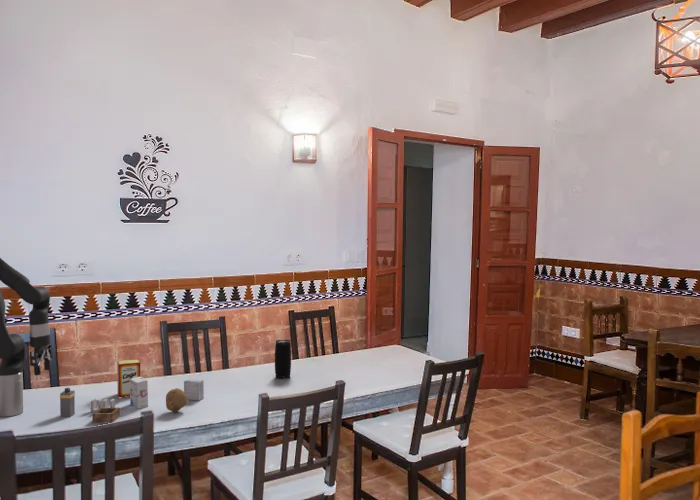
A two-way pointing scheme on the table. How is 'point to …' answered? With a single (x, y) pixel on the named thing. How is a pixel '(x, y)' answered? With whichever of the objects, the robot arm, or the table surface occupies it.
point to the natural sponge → (176, 400)
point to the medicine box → (194, 389)
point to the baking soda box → (126, 375)
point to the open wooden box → (106, 415)
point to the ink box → (139, 392)
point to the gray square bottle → (67, 403)
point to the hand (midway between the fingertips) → (42, 372)
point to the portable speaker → (282, 358)
